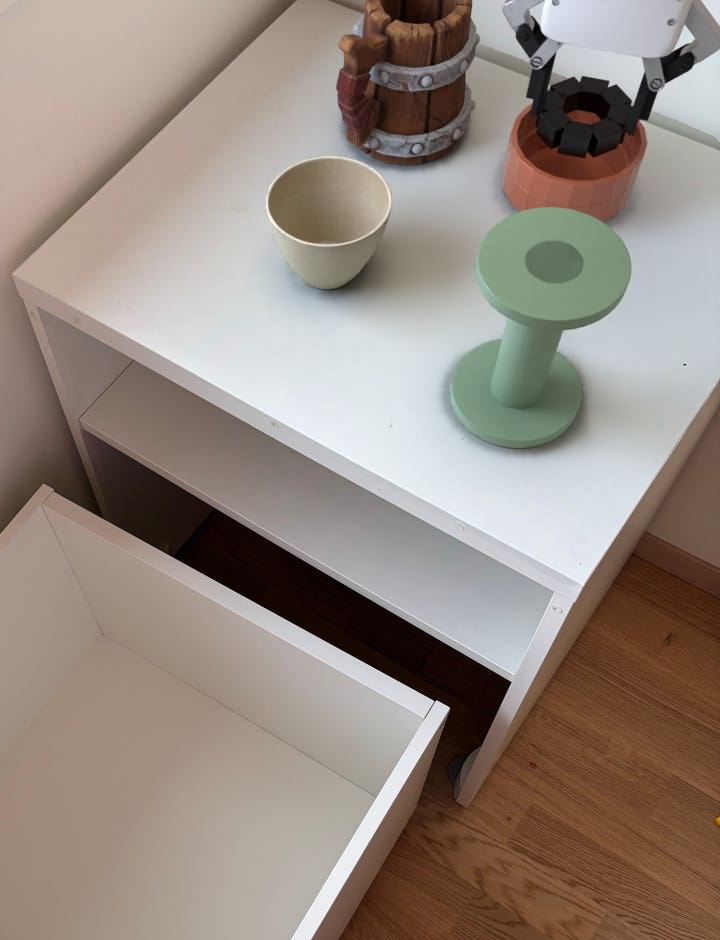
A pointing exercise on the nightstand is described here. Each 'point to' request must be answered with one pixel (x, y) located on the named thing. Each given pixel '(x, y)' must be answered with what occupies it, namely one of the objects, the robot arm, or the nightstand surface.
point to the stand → (536, 322)
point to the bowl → (569, 171)
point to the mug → (408, 78)
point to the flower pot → (328, 217)
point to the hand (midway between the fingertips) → (584, 113)
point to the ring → (588, 98)
